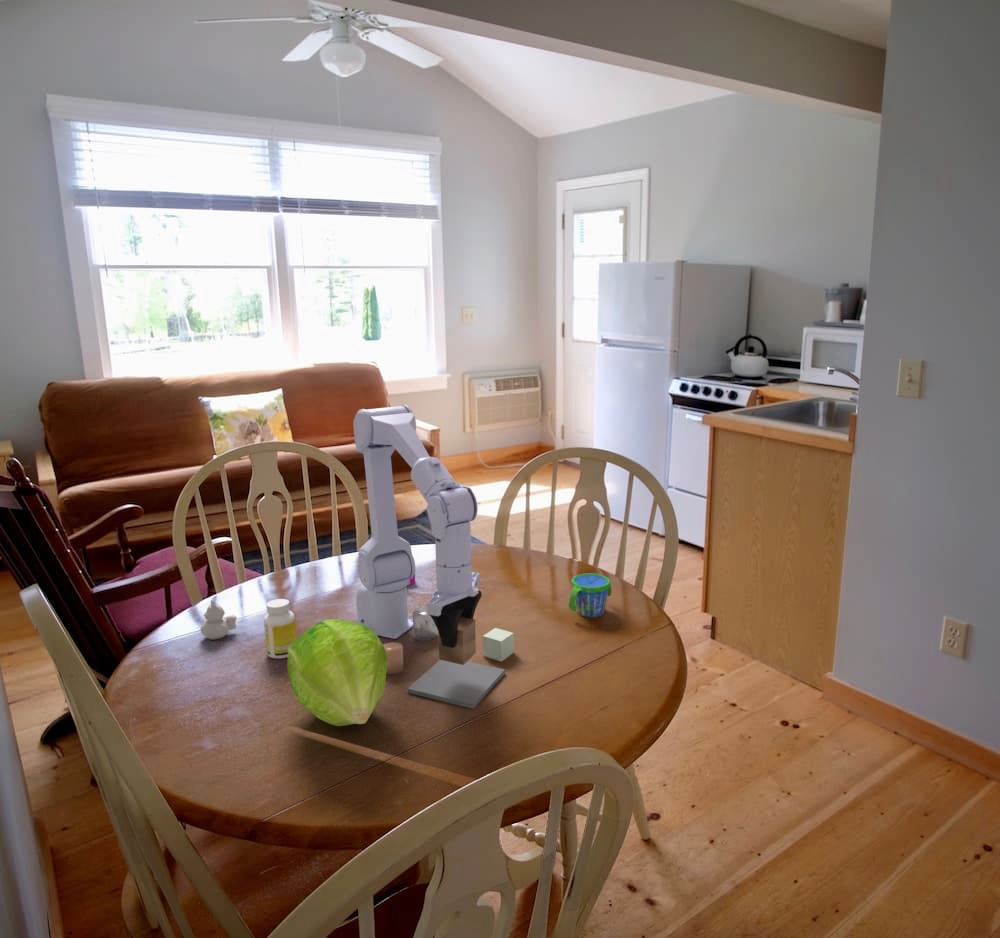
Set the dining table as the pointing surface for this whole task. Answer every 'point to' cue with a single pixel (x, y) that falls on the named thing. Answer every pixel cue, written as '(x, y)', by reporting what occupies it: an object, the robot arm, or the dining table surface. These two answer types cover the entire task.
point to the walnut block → (460, 643)
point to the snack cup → (589, 594)
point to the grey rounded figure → (217, 622)
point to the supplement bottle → (279, 628)
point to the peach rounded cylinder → (394, 657)
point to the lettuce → (338, 671)
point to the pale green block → (498, 644)
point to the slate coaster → (457, 682)
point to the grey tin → (423, 625)
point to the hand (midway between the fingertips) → (456, 639)
